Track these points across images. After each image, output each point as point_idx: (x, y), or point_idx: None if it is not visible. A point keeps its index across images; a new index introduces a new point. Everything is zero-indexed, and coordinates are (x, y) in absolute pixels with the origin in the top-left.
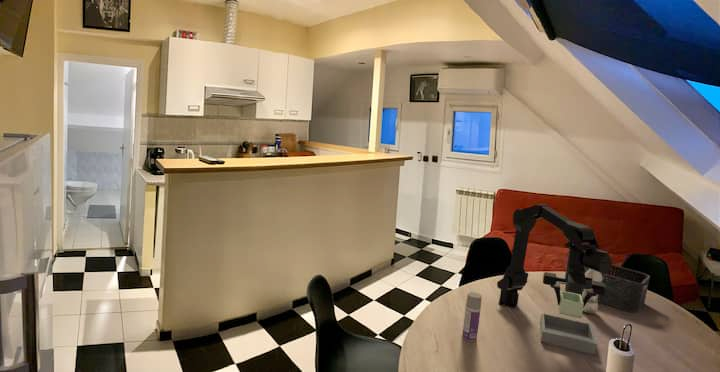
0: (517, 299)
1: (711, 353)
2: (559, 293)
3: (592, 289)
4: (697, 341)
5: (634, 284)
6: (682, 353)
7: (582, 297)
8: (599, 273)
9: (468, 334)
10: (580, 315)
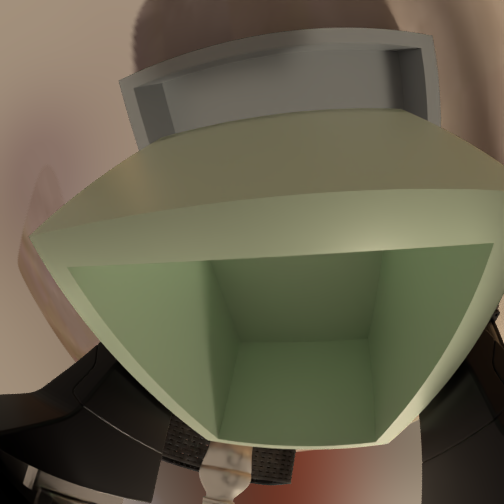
0: None
1: (39, 306)
2: (495, 395)
3: (14, 479)
4: (67, 337)
5: None
6: (47, 284)
7: None
8: (204, 487)
9: None
10: (157, 142)
